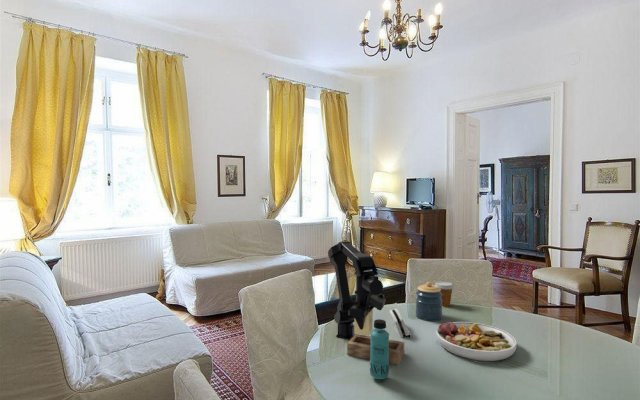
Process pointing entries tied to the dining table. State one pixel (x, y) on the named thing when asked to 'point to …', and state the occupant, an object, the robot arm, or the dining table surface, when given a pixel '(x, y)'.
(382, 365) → the beverage bottle
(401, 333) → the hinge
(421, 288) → the canister
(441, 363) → the dining table surface
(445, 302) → the disposable coffee cup
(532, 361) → the dining table surface
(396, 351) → the recessed tan tray
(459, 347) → the charcuterie platter
